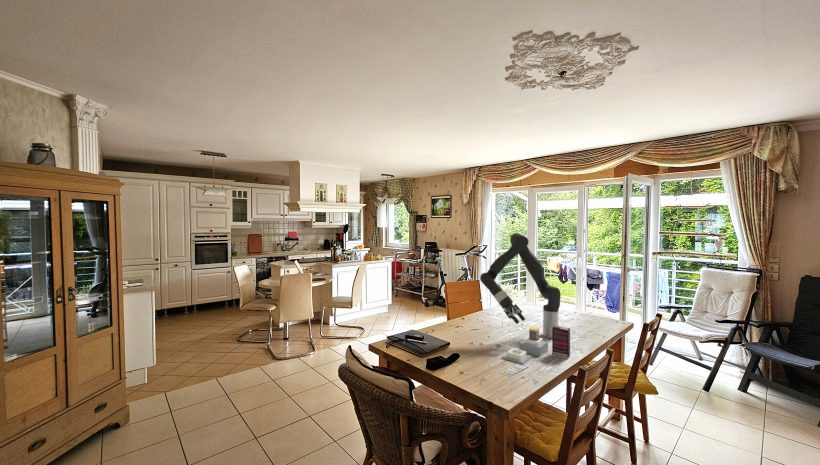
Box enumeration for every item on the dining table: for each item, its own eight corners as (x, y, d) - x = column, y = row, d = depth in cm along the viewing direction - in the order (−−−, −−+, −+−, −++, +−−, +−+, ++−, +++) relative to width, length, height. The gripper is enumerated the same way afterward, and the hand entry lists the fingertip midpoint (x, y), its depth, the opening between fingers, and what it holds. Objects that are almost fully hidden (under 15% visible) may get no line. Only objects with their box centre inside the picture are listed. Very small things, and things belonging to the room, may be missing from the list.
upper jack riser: (519, 351, 192) (519, 339, 191) (527, 345, 201) (527, 334, 200) (540, 356, 184) (540, 344, 183) (548, 350, 193) (548, 338, 192)
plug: (529, 342, 192) (529, 328, 192) (531, 340, 195) (532, 327, 195) (536, 343, 189) (536, 330, 189) (538, 342, 192) (538, 328, 192)
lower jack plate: (501, 358, 181) (501, 352, 181) (511, 352, 190) (511, 346, 190) (523, 364, 173) (523, 357, 173) (532, 357, 182) (532, 351, 182)
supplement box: (570, 356, 184) (570, 328, 184) (568, 359, 180) (568, 330, 180) (553, 352, 189) (554, 325, 189) (551, 355, 186) (552, 327, 185)
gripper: (502, 297, 197) (520, 320, 190) (512, 294, 208) (530, 315, 200) (494, 305, 201) (511, 327, 193) (504, 301, 211) (521, 322, 204)
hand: (521, 321), depth 197 cm, fingers open, 8 cm apart
